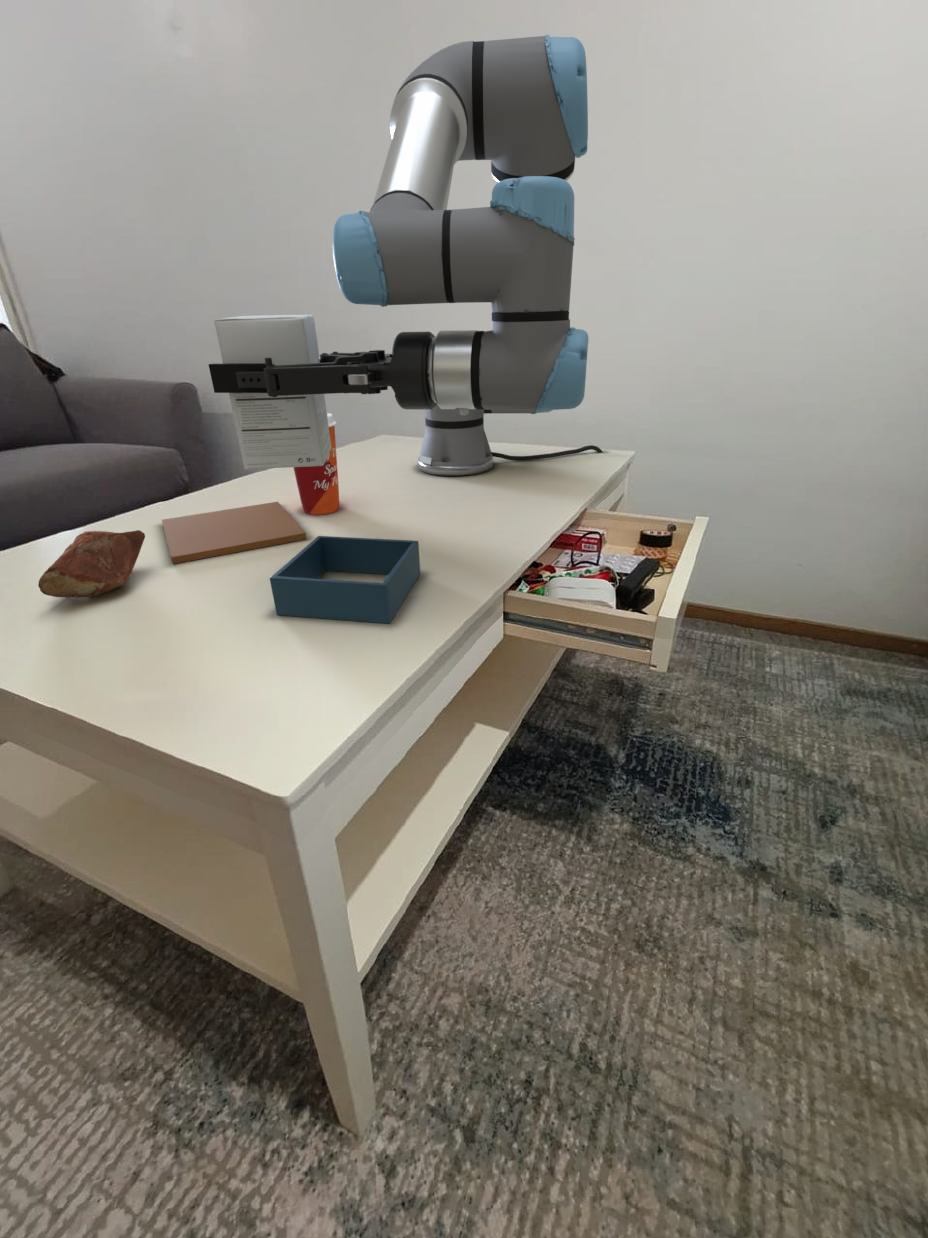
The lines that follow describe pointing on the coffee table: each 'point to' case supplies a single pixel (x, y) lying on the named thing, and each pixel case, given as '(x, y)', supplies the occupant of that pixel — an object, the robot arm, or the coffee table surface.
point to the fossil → (93, 564)
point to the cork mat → (229, 531)
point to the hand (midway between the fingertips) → (241, 371)
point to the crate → (347, 599)
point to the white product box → (284, 422)
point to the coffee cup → (320, 481)
